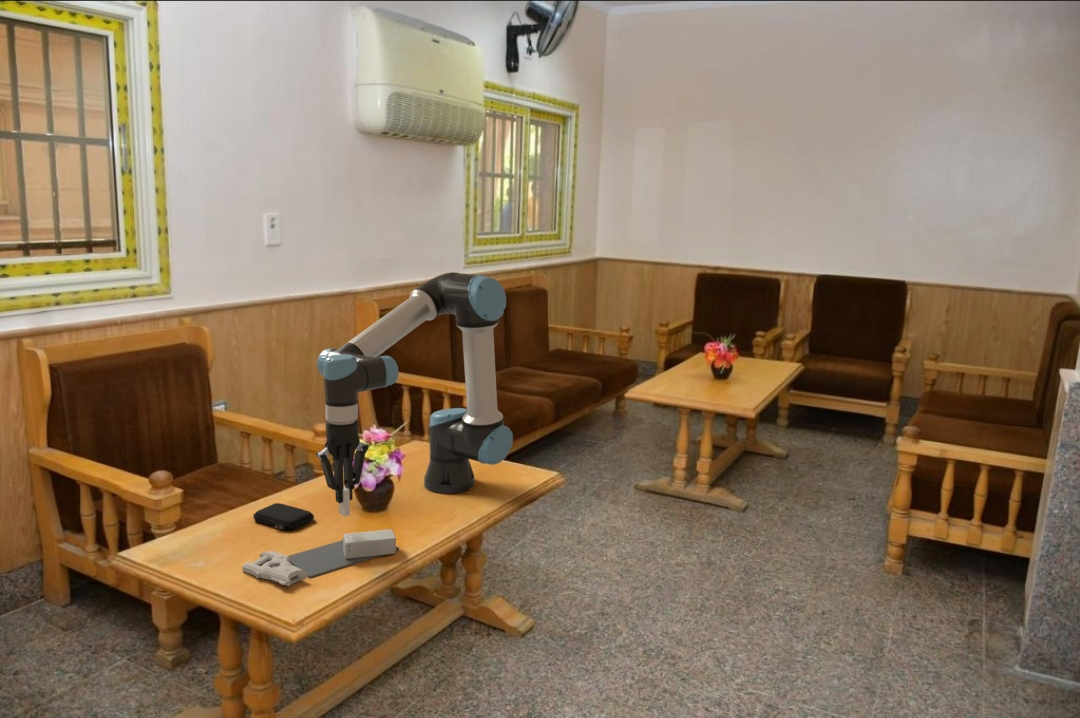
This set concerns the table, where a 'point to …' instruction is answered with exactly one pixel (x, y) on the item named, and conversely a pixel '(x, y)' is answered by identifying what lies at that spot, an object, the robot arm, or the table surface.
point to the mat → (324, 559)
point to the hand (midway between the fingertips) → (344, 513)
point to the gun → (275, 568)
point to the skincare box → (369, 543)
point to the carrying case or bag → (283, 516)
